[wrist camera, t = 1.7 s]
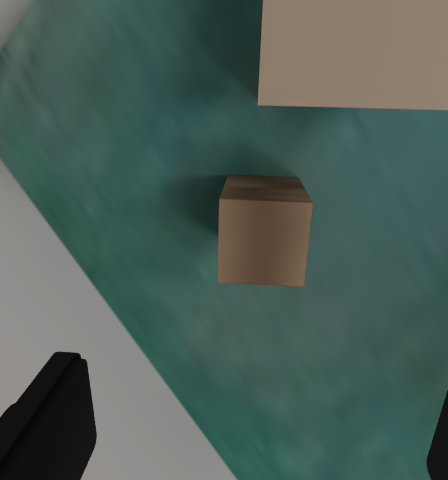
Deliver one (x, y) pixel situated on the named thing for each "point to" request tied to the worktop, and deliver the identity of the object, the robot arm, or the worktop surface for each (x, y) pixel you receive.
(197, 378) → the worktop surface
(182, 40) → the worktop surface
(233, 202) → the walnut block
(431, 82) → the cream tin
